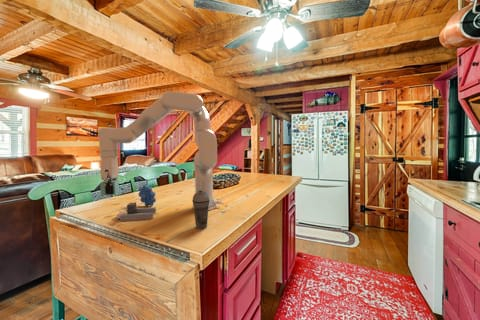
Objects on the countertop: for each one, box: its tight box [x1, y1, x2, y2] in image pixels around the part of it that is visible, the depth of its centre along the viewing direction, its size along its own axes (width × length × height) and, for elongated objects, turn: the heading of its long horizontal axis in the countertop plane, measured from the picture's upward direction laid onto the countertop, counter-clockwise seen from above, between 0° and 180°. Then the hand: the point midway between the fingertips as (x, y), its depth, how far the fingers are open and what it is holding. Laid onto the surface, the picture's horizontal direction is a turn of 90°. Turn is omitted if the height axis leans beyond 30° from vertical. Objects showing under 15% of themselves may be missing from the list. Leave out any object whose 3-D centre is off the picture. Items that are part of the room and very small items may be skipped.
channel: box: [120, 206, 157, 222], centre depth 111 cm, size 14×11×3 cm
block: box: [99, 179, 120, 197], centre depth 107 cm, size 6×6×6 cm
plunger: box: [116, 201, 137, 220], centre depth 109 cm, size 8×5×6 cm, turn 102°
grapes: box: [138, 184, 157, 207], centre depth 128 cm, size 12×7×12 cm, turn 70°
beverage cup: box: [192, 180, 210, 230], centre depth 96 cm, size 7×7×20 cm
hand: (112, 192), depth 108 cm, fingers closed on block, 6 cm apart
